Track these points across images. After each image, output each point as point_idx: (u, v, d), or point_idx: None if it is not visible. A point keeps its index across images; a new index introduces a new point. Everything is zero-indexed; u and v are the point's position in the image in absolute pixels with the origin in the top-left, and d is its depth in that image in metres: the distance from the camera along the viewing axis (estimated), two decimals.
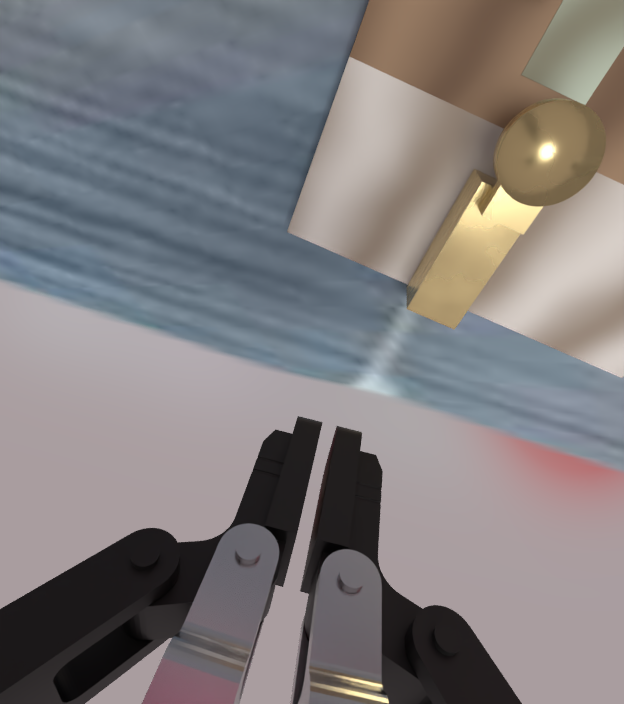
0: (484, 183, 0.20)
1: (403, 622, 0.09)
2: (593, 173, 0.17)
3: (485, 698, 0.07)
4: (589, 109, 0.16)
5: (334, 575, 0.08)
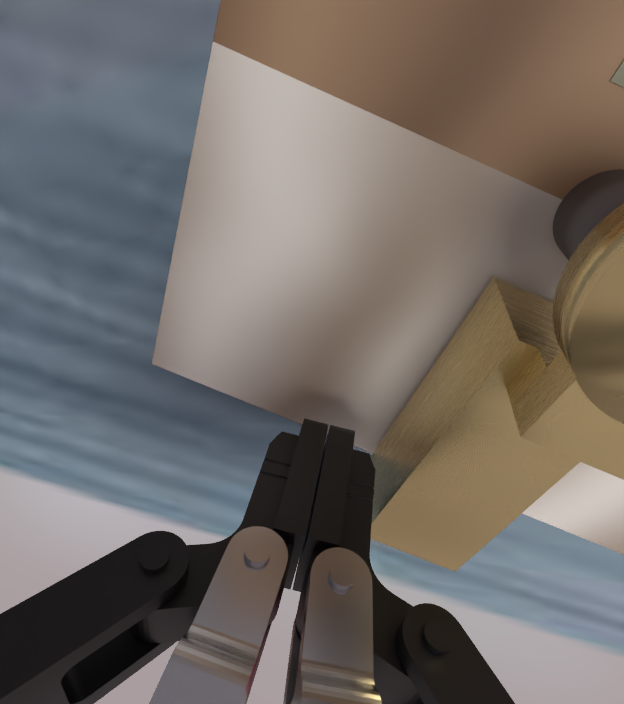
0: (524, 342, 0.08)
1: (394, 620, 0.09)
2: None
3: (475, 695, 0.07)
4: None
5: (324, 573, 0.08)
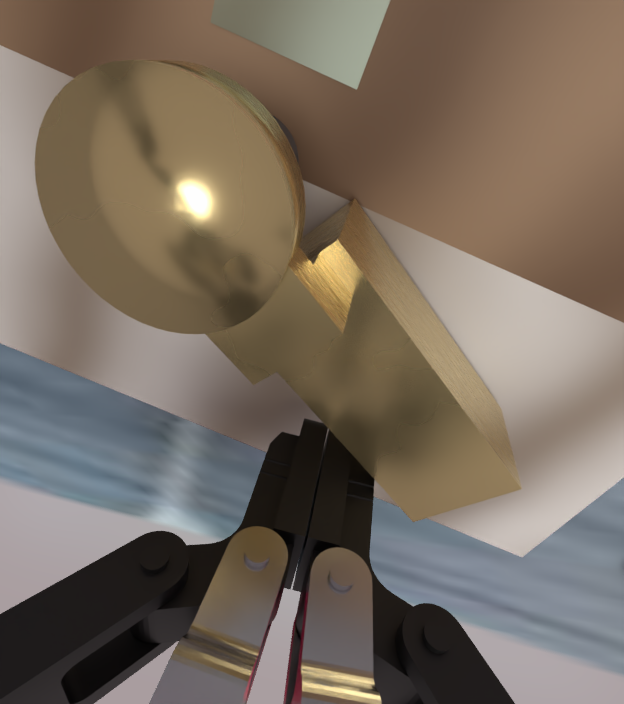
0: None
1: (393, 620, 0.09)
2: (244, 126, 0.05)
3: (475, 695, 0.07)
4: (66, 88, 0.06)
5: (324, 573, 0.08)
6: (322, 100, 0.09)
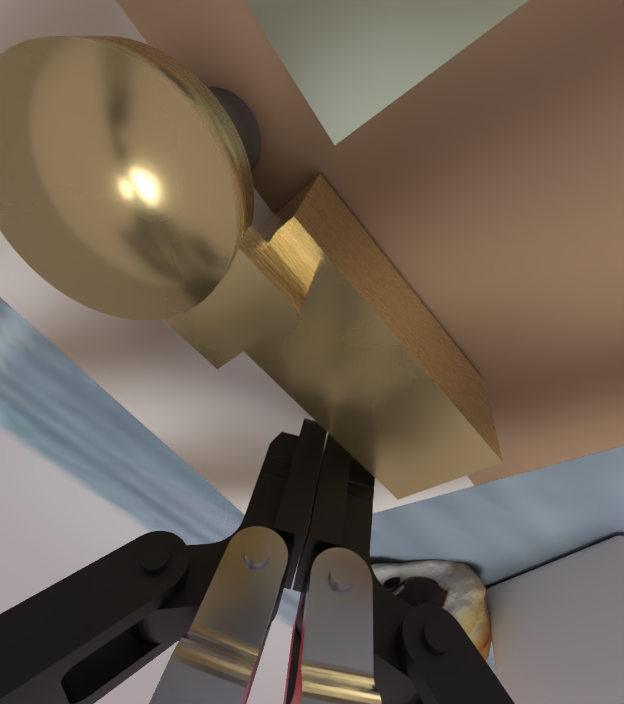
0: None
1: (394, 620, 0.09)
2: (171, 100, 0.05)
3: (475, 695, 0.07)
4: None
5: (325, 573, 0.08)
6: (302, 133, 0.10)
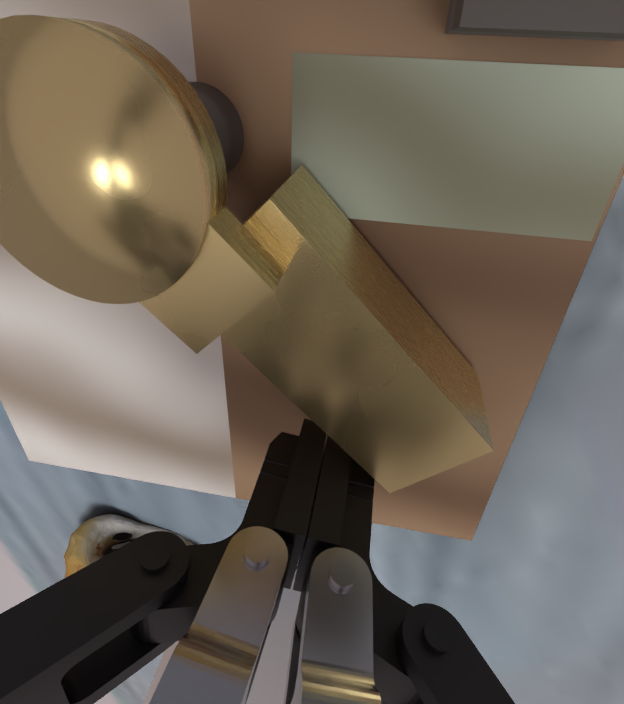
0: None
1: (394, 620, 0.09)
2: (134, 74, 0.05)
3: (475, 695, 0.07)
4: None
5: (325, 573, 0.08)
6: (272, 185, 0.10)
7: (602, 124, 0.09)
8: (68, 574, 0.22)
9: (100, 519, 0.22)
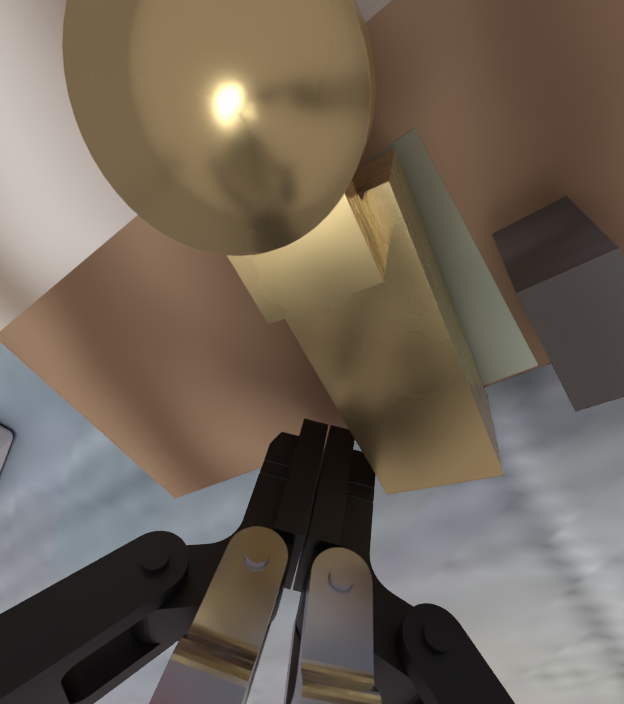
0: None
1: (394, 620, 0.09)
2: (343, 8, 0.05)
3: (476, 695, 0.07)
4: None
5: (325, 573, 0.08)
6: None
7: (493, 360, 0.12)
8: None
9: None
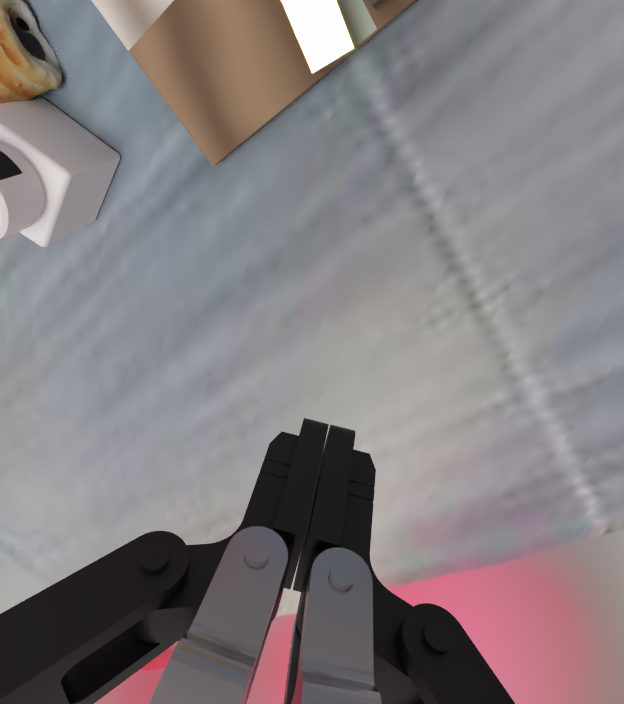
0: None
1: (394, 620, 0.09)
2: None
3: (476, 695, 0.07)
4: None
5: (325, 573, 0.08)
6: None
7: (359, 29, 0.28)
8: None
9: None
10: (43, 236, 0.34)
